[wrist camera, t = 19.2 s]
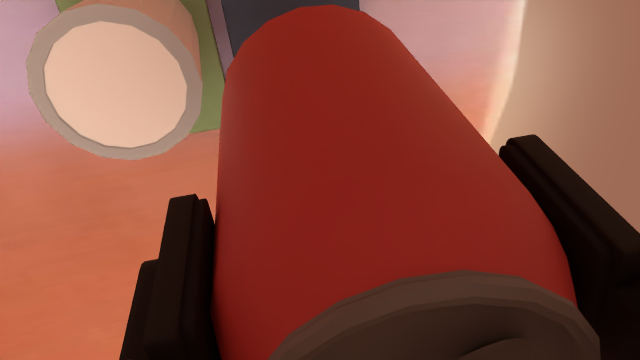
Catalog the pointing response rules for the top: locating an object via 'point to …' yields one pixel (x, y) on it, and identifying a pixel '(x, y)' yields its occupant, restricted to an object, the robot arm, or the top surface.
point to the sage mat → (209, 64)
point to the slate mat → (264, 14)
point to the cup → (118, 76)
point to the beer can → (373, 212)
